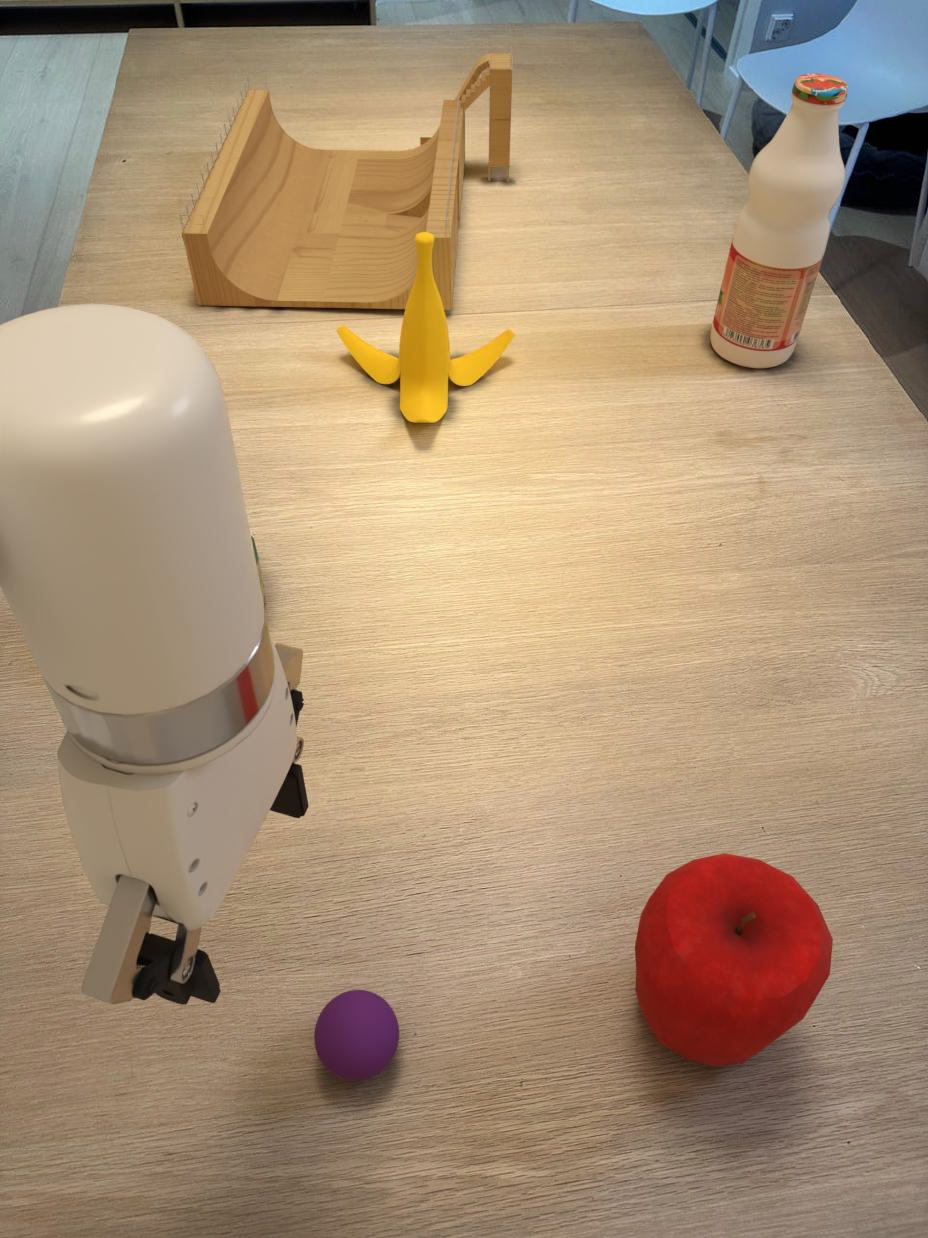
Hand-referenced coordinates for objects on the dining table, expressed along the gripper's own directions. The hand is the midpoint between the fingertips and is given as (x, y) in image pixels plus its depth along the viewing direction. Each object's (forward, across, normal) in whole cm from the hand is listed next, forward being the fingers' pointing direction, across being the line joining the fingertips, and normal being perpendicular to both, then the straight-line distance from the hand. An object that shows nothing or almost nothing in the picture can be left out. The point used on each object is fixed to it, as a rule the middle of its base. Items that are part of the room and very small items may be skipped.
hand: (235, 890), depth 48 cm
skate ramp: (+20, -97, -31) cm, 103 cm away
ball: (+17, -1, +5) cm, 17 cm away
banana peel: (+20, -65, -13) cm, 69 cm away
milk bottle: (+20, -86, +19) cm, 90 cm away
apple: (+20, -10, +24) cm, 33 cm away
